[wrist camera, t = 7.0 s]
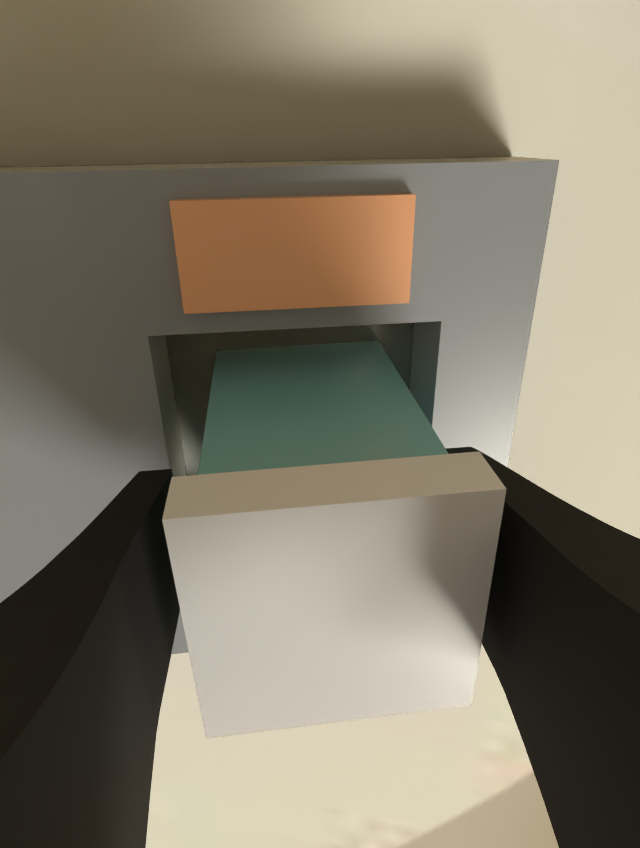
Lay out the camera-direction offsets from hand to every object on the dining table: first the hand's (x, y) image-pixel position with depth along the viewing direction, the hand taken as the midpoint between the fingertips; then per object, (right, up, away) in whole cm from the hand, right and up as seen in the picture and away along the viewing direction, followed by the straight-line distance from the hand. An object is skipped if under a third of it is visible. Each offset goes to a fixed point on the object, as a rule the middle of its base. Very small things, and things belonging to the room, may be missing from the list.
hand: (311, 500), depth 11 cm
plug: (0, +2, +3) cm, 4 cm away
